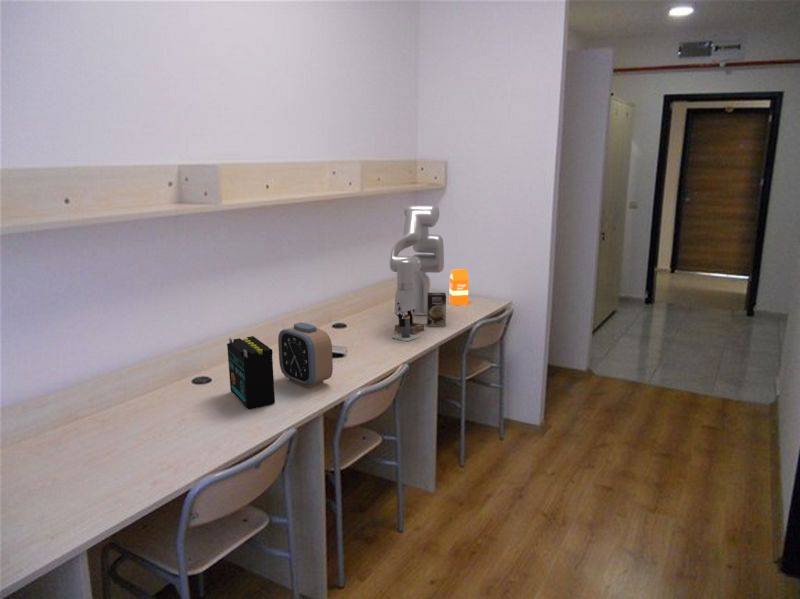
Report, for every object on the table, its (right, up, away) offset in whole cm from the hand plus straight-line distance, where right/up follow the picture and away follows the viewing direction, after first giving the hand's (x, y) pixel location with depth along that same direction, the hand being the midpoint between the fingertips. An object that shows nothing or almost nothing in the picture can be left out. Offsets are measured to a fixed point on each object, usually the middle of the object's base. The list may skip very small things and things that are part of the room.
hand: (405, 325), depth 280 cm
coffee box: (+15, -1, +22) cm, 27 cm away
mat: (0, -6, +1) cm, 6 cm away
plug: (0, -5, +1) cm, 5 cm away
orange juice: (+30, +9, +66) cm, 73 cm away
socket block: (+2, -3, +13) cm, 13 cm away
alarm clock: (-38, -19, -53) cm, 68 cm away
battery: (-54, -23, -67) cm, 89 cm away
